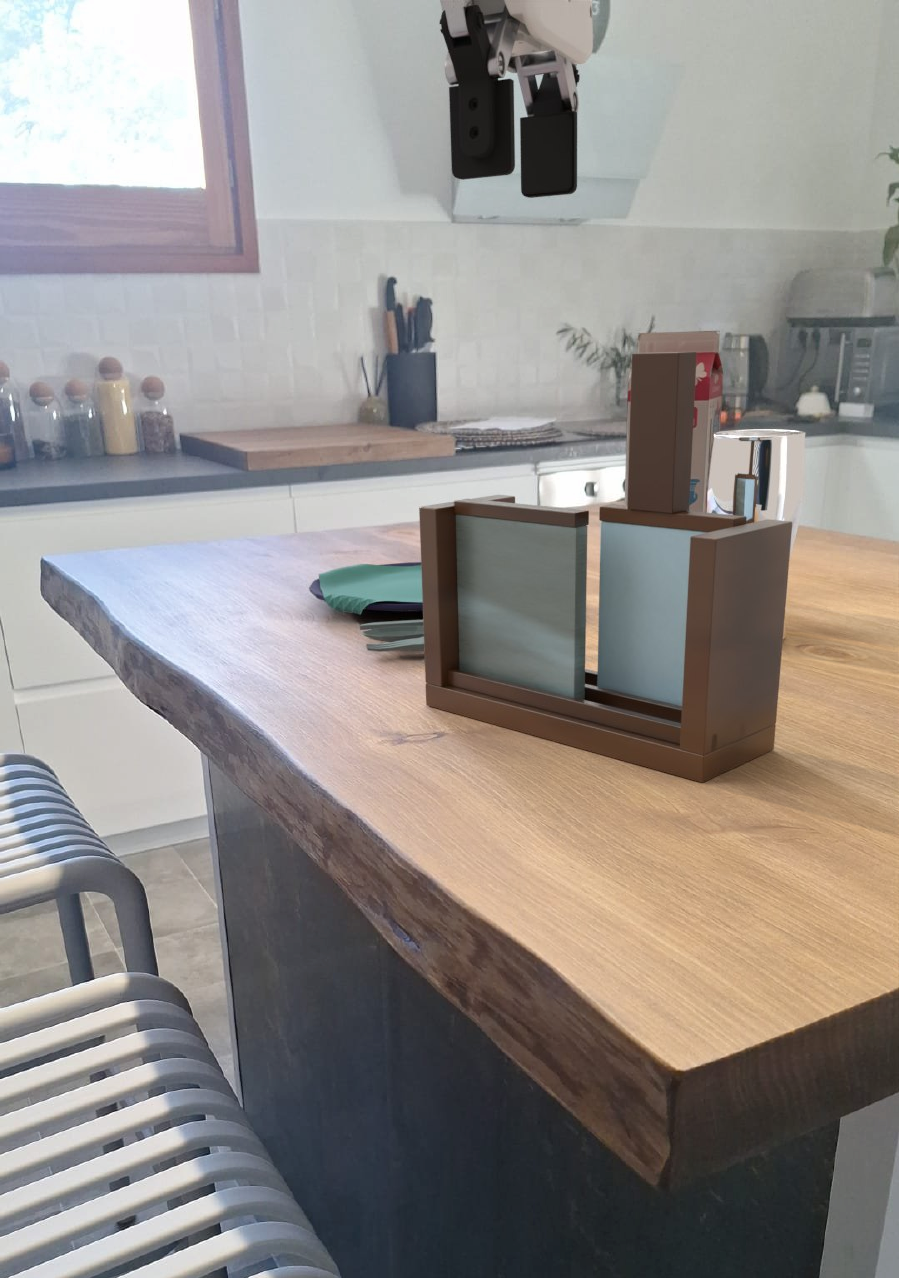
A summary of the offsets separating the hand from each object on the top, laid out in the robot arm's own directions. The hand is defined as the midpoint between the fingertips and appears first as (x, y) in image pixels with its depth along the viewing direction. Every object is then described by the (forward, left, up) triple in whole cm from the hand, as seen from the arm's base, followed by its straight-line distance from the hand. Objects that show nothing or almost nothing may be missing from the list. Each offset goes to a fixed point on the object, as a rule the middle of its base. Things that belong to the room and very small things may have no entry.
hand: (518, 186), depth 61 cm
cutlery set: (-15, -25, -29) cm, 41 cm away
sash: (-2, +10, -27) cm, 29 cm away
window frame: (0, +5, -29) cm, 30 cm away
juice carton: (-33, -13, -30) cm, 46 cm away
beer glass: (-25, 0, -30) cm, 39 cm away
